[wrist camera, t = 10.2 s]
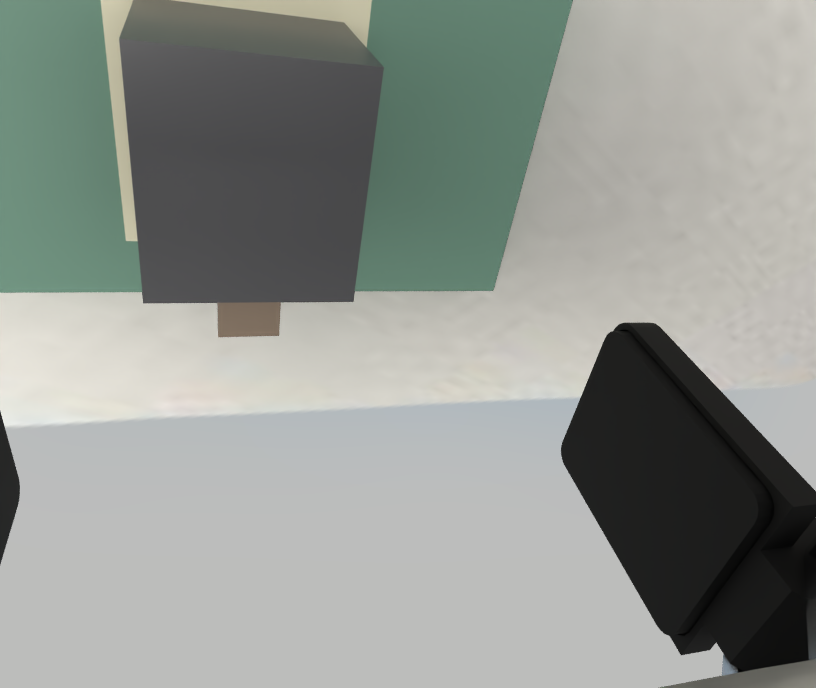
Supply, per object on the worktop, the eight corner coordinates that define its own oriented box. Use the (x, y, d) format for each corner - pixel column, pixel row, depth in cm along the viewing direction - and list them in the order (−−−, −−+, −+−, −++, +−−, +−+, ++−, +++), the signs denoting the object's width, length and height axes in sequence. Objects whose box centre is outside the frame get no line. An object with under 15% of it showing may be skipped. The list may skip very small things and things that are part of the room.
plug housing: (344, 22, 19) (384, 67, 15) (320, 274, 23) (346, 356, 20) (135, -5, 17) (119, 38, 13) (156, 272, 22) (148, 363, 18)
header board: (568, -55, 20) (640, -37, 17) (483, 275, 27) (522, 333, 24) (-230, -202, 14) (-354, -217, 11) (-78, 273, 21) (-127, 350, 18)
